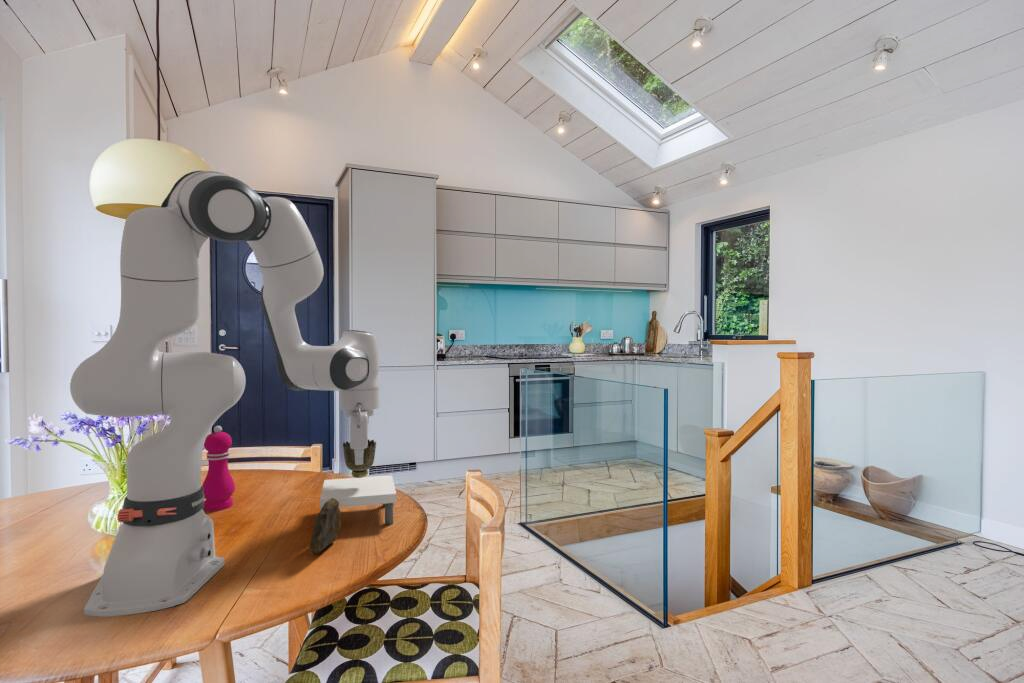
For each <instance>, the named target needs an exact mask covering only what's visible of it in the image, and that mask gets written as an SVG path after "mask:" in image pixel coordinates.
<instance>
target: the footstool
mask: <svg viewBox="0 0 1024 683" xmlns="http://www.w3.org/2000/svg"><path fill="white" fill-rule="evenodd" d="M331 498H334V499H336V500H337V501H338V502H339V506H338V507H339V508H348V507H360V506H373V505H382V507H384V525H387V526H388V525H389V526H390V525H393V524H394V504H395V503H396V504H397V490H396V486H395V482H394V478H393V475H392V474H391V475H377V476H375V475H374V476H365V477H363V478H354V477H346V478H334V479H333V478H332V479H324V481H323V485H322V490H321V494H320V498H319V509H320V510H321V509H322V507H323V506H324V504H325V502H327V501H328V500H329V499H331Z"/></svg>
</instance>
